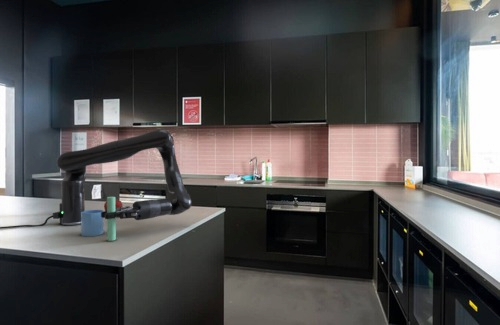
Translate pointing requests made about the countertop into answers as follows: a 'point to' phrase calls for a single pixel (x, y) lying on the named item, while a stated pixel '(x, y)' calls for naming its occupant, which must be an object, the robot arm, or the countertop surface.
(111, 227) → the mint green tapered cylinder
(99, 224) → the cup
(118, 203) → the tomato
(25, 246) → the countertop surface
